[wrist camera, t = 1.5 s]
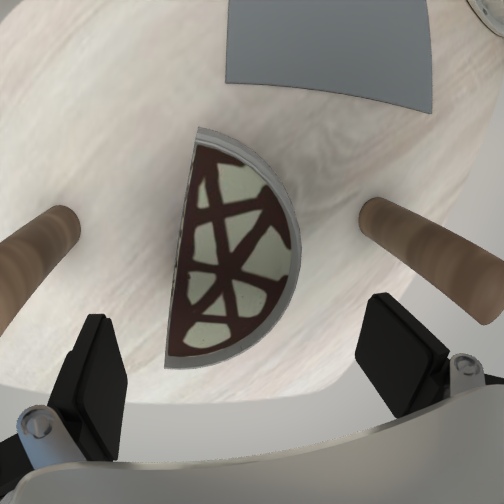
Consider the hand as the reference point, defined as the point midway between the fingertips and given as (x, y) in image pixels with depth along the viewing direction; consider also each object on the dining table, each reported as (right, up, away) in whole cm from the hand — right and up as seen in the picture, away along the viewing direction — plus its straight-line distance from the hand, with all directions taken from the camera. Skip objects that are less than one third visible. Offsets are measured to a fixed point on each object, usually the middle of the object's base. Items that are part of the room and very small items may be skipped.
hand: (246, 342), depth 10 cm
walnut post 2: (+11, +6, +14) cm, 19 cm away
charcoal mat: (+7, +22, +7) cm, 24 cm away
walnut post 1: (-15, +5, +10) cm, 19 cm away
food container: (-2, +6, +12) cm, 14 cm away
